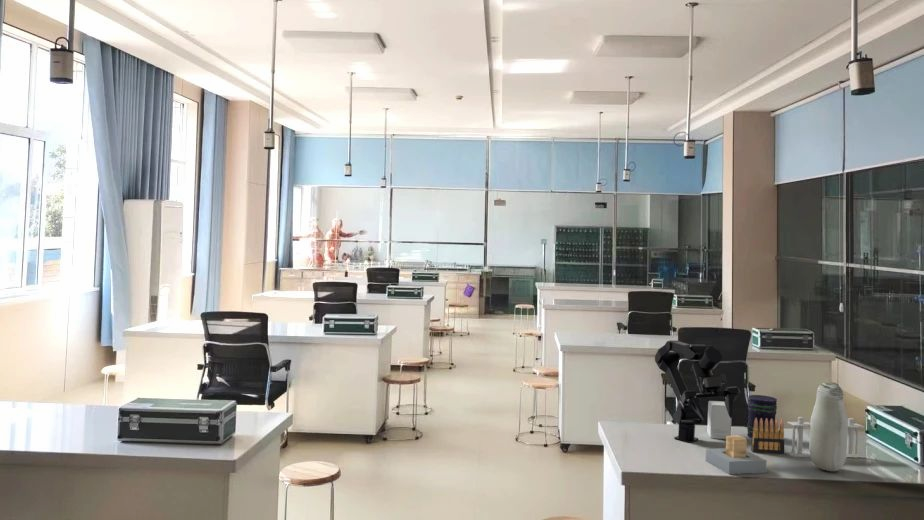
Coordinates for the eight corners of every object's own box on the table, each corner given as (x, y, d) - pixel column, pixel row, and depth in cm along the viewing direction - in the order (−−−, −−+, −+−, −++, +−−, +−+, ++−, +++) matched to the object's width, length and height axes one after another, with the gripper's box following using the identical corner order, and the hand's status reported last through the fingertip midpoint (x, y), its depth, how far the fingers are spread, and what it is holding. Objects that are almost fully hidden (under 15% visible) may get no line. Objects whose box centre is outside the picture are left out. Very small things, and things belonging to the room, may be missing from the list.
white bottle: (852, 473, 210) (856, 386, 210) (826, 476, 207) (830, 387, 207) (827, 463, 220) (831, 379, 219) (802, 465, 217) (805, 380, 216)
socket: (705, 460, 219) (706, 448, 219) (741, 459, 221) (741, 447, 221) (728, 474, 206) (729, 461, 206) (766, 472, 208) (766, 460, 208)
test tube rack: (855, 454, 232) (857, 417, 232) (863, 458, 227) (865, 420, 227) (785, 453, 231) (787, 415, 231) (792, 457, 227) (793, 418, 226)
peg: (725, 463, 215) (726, 435, 215) (737, 462, 216) (738, 435, 216) (733, 467, 211) (734, 439, 211) (745, 467, 212) (746, 439, 212)
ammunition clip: (782, 452, 231) (783, 418, 231) (784, 454, 229) (786, 419, 229) (750, 450, 232) (752, 416, 232) (752, 452, 230) (754, 418, 230)
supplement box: (731, 440, 245) (732, 406, 244) (709, 438, 246) (711, 404, 246) (727, 434, 252) (728, 401, 252) (706, 432, 253) (708, 400, 253)
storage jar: (780, 441, 245) (782, 401, 244) (753, 440, 245) (755, 400, 244) (768, 434, 255) (769, 395, 254) (742, 433, 255) (744, 394, 254)
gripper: (682, 368, 225) (695, 410, 216) (737, 363, 225) (752, 406, 215) (675, 383, 234) (687, 424, 224) (728, 378, 234) (742, 420, 224)
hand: (717, 418), depth 222 cm, fingers open, 9 cm apart
